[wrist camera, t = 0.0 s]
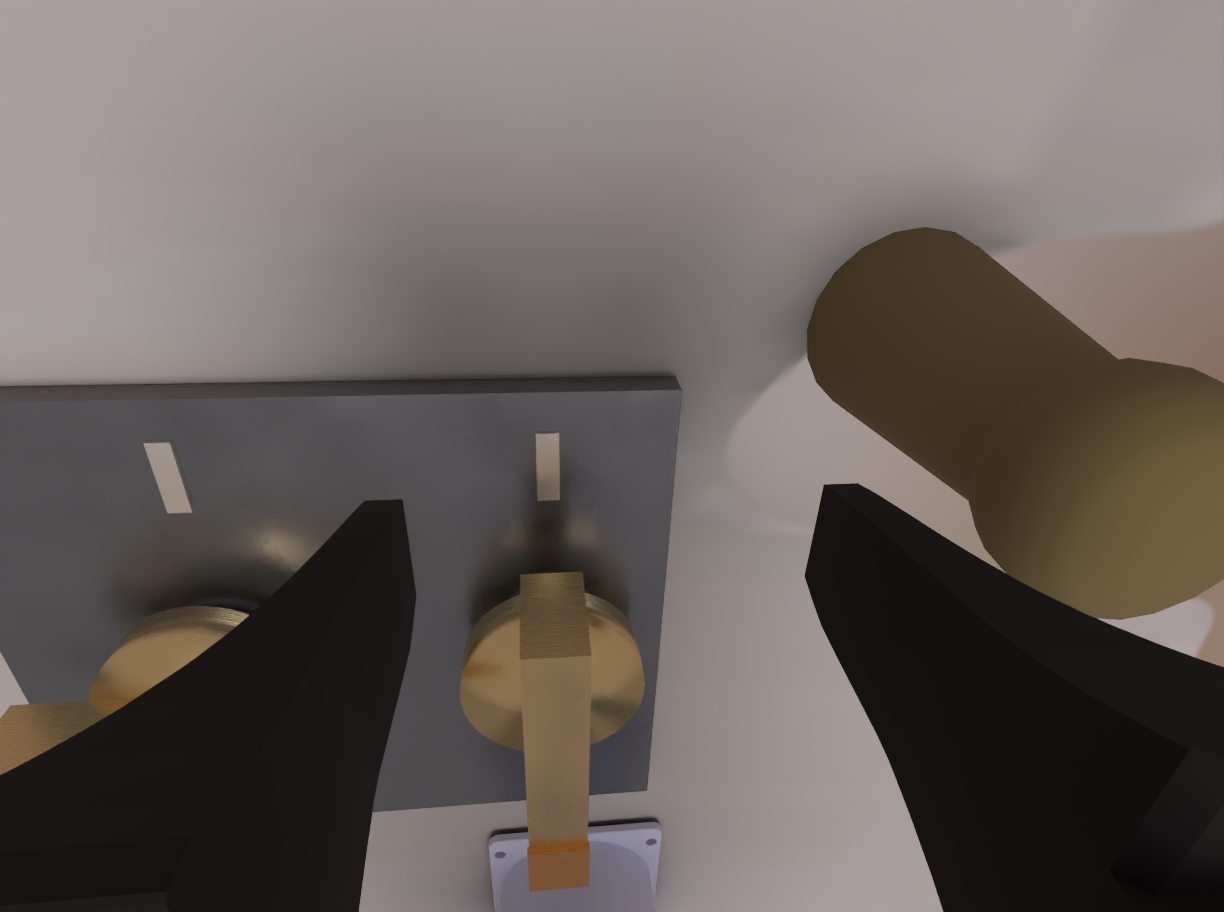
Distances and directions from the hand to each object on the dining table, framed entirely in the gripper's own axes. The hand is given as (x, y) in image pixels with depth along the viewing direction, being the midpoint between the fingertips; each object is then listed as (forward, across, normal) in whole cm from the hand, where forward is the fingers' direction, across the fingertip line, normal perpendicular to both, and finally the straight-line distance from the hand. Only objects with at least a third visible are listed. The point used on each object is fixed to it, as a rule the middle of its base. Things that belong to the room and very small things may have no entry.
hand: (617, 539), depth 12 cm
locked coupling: (+8, +1, +11) cm, 14 cm away
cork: (+10, -10, 0) cm, 14 cm away
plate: (+10, +8, +11) cm, 17 cm away
